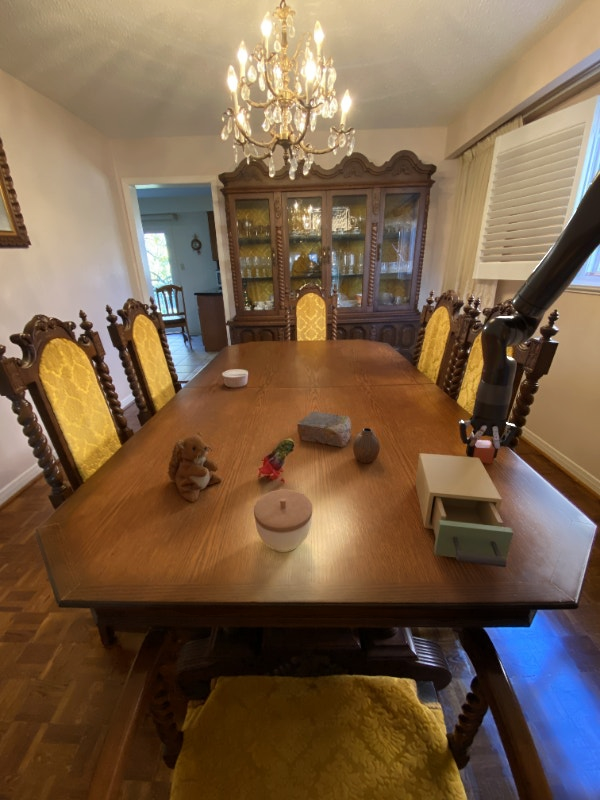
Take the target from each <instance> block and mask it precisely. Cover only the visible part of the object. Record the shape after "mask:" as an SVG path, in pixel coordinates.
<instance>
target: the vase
mask: <svg viewBox="0 0 600 800" xmlns="http://www.w3.org/2000/svg"><path fill="white" fill-rule="evenodd" d="M380 449H381V446H380V441H379V438H378V437H377V436H376V434H375V433H374V430H373V429H372V428H370V427H363V428H362V430H361V431H360V433H358V434H357V436H356V437H355V438H354V440H353V443H352V451H353V454H354V457H355V458H356V459H357V460H358V461H359V462H360V463H364V464H367V463H372V462H374V461H375V460H376V459H377V458H378V456H379V454H380Z"/></svg>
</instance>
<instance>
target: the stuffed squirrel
mask: <svg viewBox="0 0 600 800" xmlns="http://www.w3.org/2000/svg"><path fill="white" fill-rule="evenodd" d="M214 449H215V448H214V447H213V446H210V445H208V444H207V443H206V442H204V440H203V438H202V432H200V431H198V432H197V433H196V434H193V435H190V436H188V437H185V438H184V439H179V440H177V441H176V442H175V443H174V447H173V449H172V451H171V457H170V461H169V463H168V471H167V474H168V476H169V479H170V481H171V482H172V483H174V484H175V485H176V487H177V489H178V492H179V494H180V496H181V497H182V498H184V500H187V501H189V502H191V503H194V502H197V501H198V498H199V495H200V491H202V490H203V489H205V488H206V487H207V486H208V485H209V486H210V485H213V484H217V483H221V482H222V476H221V475H219V474H214V473H215V472H217V471H218V470H219V465H218V463H217V462H216V461H214V459H211V458H210V457H208V456H207V455H208V454H209V451H211V452H213V450H214Z"/></svg>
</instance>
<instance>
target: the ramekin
mask: <svg viewBox="0 0 600 800" xmlns="http://www.w3.org/2000/svg"><path fill="white" fill-rule="evenodd" d="M221 377H222V379H223V383H224V385H225V386H226V387H227V388H231V389H233V388H234V389H235V388H237V389H238V388H242V387H245V386H246V385H247V384H248V377H249V371H248V370H247V369H242V368H241V369H240V368H235V369H228V370H225V371H222V373H221Z"/></svg>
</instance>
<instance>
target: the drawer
mask: <svg viewBox="0 0 600 800" xmlns="http://www.w3.org/2000/svg"><path fill="white" fill-rule="evenodd" d="M430 517H431V521H432V525H433V529H432V530H433V534H434V538H435V541H434V546H433V552H434V553H433V554H434V555H435V556H440V557H441V556H442V557H446V558H447V557H449V558H455V559H456V561H457V562H461V563H469V564H475V565H483V566H491V567H499V568H506V567H507V557H508V554H509V551H510V546H511V543H512V539H513V535H514V531H513V530H512V528H511V527H507V526H503V524H504V522H503V520H502V518H501V516H500V513H498V512H497V510H496V508H495V506H494V504H493V502H489V501H479V500H469V499H459V498H449V497H439V496H434V497H433V504H432V510H431V516H430Z"/></svg>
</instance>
